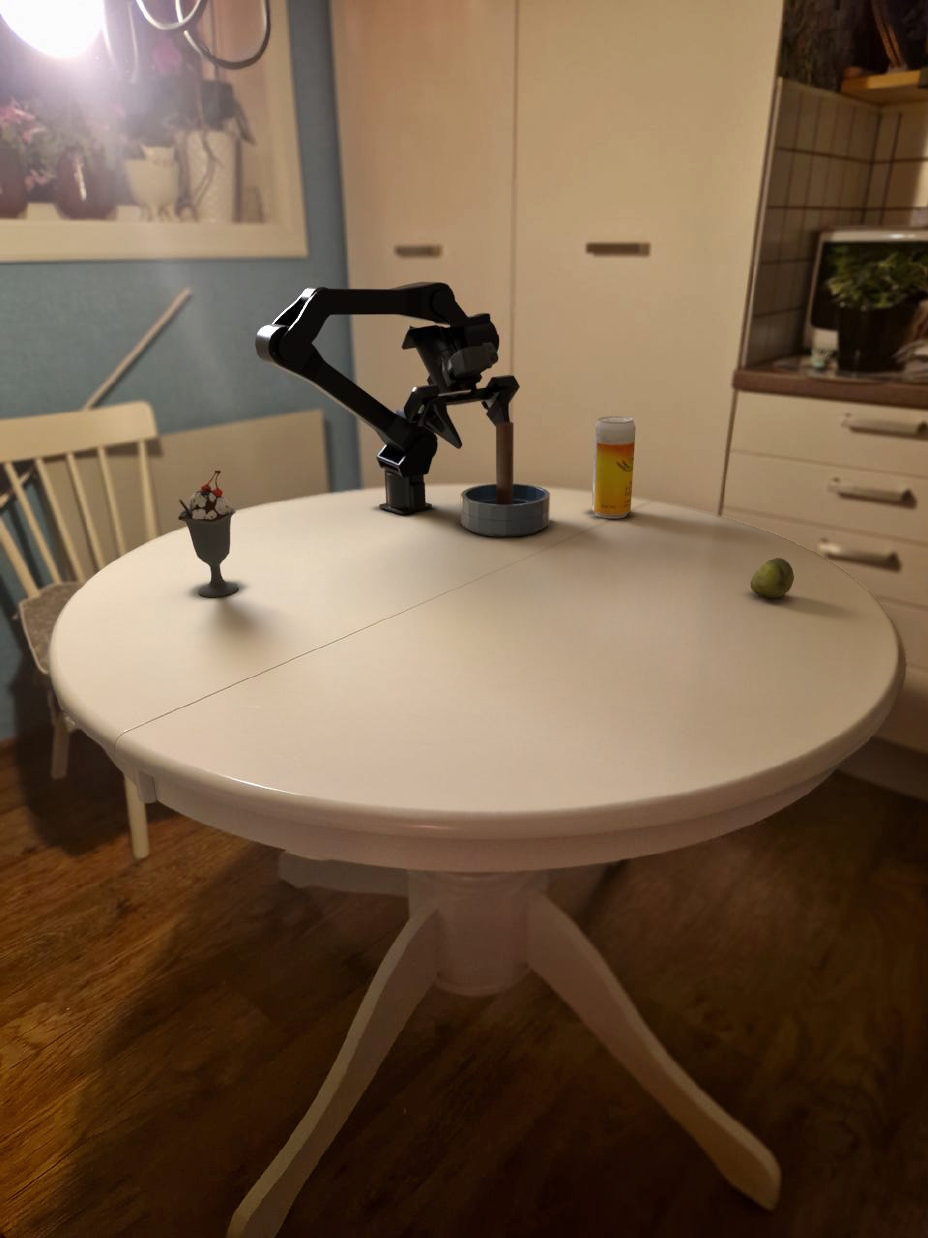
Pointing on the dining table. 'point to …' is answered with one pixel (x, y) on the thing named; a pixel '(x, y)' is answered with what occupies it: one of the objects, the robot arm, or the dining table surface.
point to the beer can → (613, 466)
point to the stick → (504, 462)
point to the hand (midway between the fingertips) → (485, 442)
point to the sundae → (210, 534)
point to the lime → (773, 578)
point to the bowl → (505, 510)
